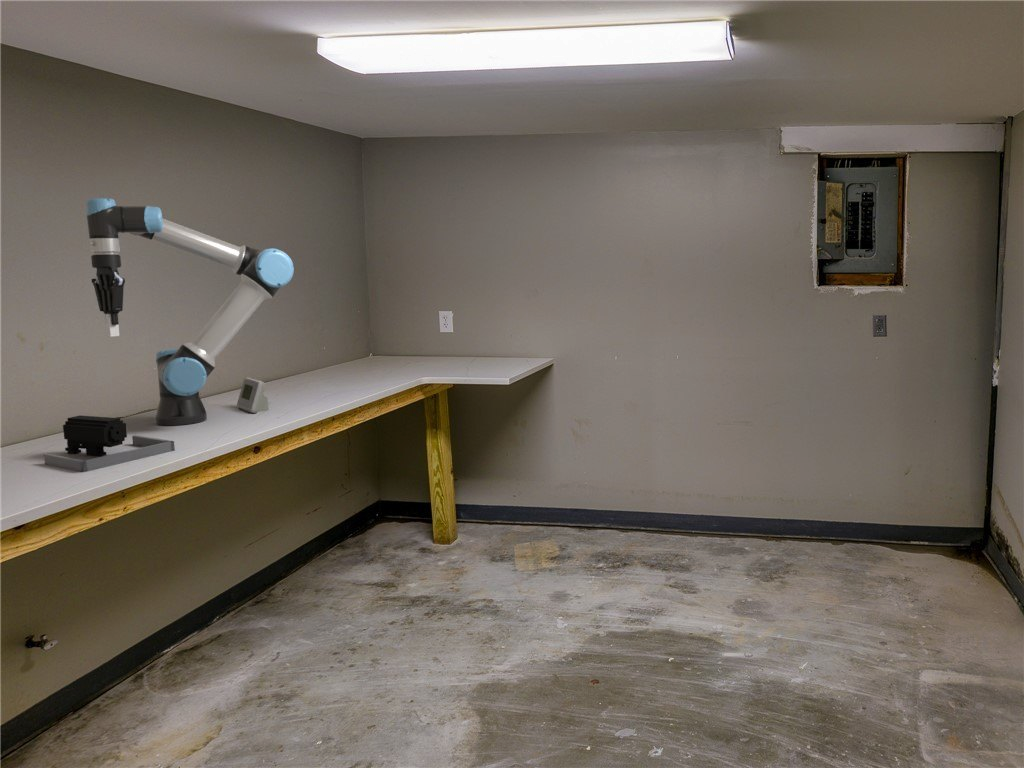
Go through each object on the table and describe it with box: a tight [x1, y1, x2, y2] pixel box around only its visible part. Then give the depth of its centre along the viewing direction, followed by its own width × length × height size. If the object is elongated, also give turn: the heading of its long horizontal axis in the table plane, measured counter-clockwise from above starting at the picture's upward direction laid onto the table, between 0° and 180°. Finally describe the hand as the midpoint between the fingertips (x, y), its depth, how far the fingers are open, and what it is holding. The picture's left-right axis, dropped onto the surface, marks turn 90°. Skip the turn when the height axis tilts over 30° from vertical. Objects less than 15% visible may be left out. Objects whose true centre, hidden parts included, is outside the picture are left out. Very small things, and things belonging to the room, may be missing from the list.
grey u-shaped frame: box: [43, 434, 176, 473], centre depth 211 cm, size 25×17×2 cm
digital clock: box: [236, 377, 269, 414], centre depth 274 cm, size 16×9×11 cm, turn 25°
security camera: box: [62, 415, 128, 458], centre depth 213 cm, size 7×18×10 cm, turn 68°
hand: (113, 336), depth 234 cm, fingers closed
